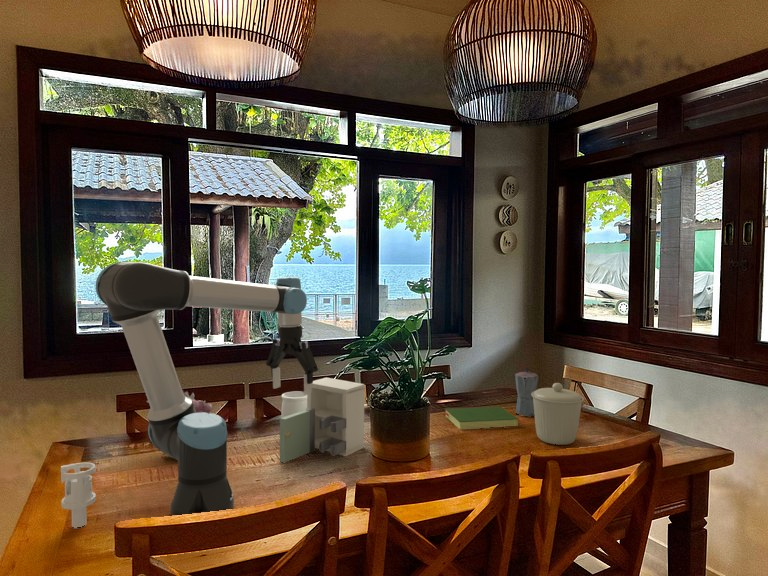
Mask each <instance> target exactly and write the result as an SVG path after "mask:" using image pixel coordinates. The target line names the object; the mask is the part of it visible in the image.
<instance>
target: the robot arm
mask: <svg viewBox="0 0 768 576" xmlns="http://www.w3.org/2000/svg"><path fill="white" fill-rule="evenodd" d="M301 284H302V283H301V279H300V278H299V277H298V276H280V277H277V279H276V283H275V284H264V283H257V282H255V283H254V282H246V281H238V280H237V281H236V280H230V279H221V278H220V279H219V278H214V277H213V278H212V277H204V276H196V275H195V276H194V275H189V273H188V272H187V271H185V270H179V269H178V270H177V269H173V268H169V267H165V266H164V267H163V266H160V265H156V264H152V263H148V262H141V261H137V262H134V261H127V260H125V261H119V262H115V263H112V264H109V265H107V266H105V267H104V268H103V269H102V270H101V271H100V273H99V274H98V276H97V278H96V280H95V292H96V294H97V296H98V298H99V300H100V301H101V303H103V304H104V305H105V306H106V307H107V309H108V313H109V315H110V317H111V320H112V322H113V323H115V324H117V325H119V326H121V329H122V332H123V334H124V337H125V339H126V342H127V345H128V348H129V350H130V354H131V355H132V356H131V357H132V359H133V362H134V365H135V367H136V370H137V372H138V376H139V379H140V381H141V385H142V387H143V389H144V392H145V396H146V398H147V401H149V403H148V404H149V407H150V408H151V410H149V411H148V413H147V415H146V416H147V417H146V418H147V420H148V423H149V424H148V428H147V434H148V438H149V439H150V440H149V441H151V443H152V445H153V446H154V447H155V448H156V449H158V450H159V451H160V452H162V453H166V454H165V455H168V456H169V457H170V456H171V457H170V458H172V457H173V458H172V459H174V460H177V470H178V471H177V477H178V478H177V480H178V482H177V485H176V488H175V492H174V494H173V498H172V501H171V504H170V515H182V514H192V513H201V512H210V511H219V510H226V509H232V510H233V509H234V506H235V505H234V504H235V502H234V501H235V500H234V499H235V498H234V493H233V490H232V488H231V485H230V482H229V480H228V476H227V473H228V470H227V464H228V463H227V462H228V461H227V460H228V459H227V458H228V457H227V456H228V448H227V446H228V442H227V441H228V430H227V423H226V420H225V419H224V418H223V417H221V416H220V415H218V414H216V413H212V412H211V413H210V414H208V413H196V411H195V408H194V407H195V406H194V405H193V402H192V400H191V399H190V398H188V397H187V396H186V397H185V396H184V394H183V393H184V390H183V389H182V385H181V383H180V380H179V378H178V377H179V376H178V374H177V370H176V369H175V365H174V362H173V359H172V356H171V354H170V350H169V347H168V345H167V341H166V339H165V336H164V332H163V330H162V326H161V323H160V321H159V318H158V313H159V312H160V310H161V311H163V310H164V311H165V310H173V311H174V310H176V311H181V310H184V309H185V308H186V307H193V308H206V309H207V308H208V309H222V310H223V309H224V310H234V311H237V310H239V311H247V312H265V313H266V312H267V313H277V325H279V326H278V328H277V330H278V332H277V334H278V337H277V338H273V339H272V342H271V343H272V344H271V349H270V351H269V355H268V357H267V361H266V366H268V367H269V368H270V369H271V378H272V389H278V388H279V389H280V388H281V367H280V364H281V363H282V360H283V359H284V358H285V356H286V355H292V356H294V357H295V358H296V359H297V361H298V363H299V364H300V366H301V367H302V369H303V370H304V372H305V373H303V392H304V394H305V395H306V394H309V393H312V383H313V381H314V373H315V372H318V371H319V368H318V366H317V364H316V363H317V362H316V360H315V358H314V355H313V353H312V350H311V348H310V345H311V344H310V342H309V341H302V337H303V326H302V325H301V324H302V323H303V322H302V321H303V320H302V319H303V317H302V315H303V314H302V313H303V312H304V310H305V309H306V306H307V301H308V298H307V295H306V293H305V291H304V290H303V289H302V285H301ZM182 390H183V391H182ZM233 505H234V506H233Z"/></svg>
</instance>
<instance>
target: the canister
mask: <svg viewBox="0 0 768 576" xmlns="http://www.w3.org/2000/svg"><path fill="white" fill-rule="evenodd" d="M531 395H532V397H533V403H534V415H535V416H534V424H535V425H534V426H535V432H536V434H537V438H539V440H540V441H542V442H544V443H547V444H551V445H555V444H556V445H557V446H560V445H561V446H566V445H570V444H572V443H574V442H575V441H576V439H577V435H578V429H579V423H580V417H581V409H582V403H583V402H584V400H585V398H584V397H583V396H582V395H581V394H580V393H578V392H576V391H574V390H571V389H566V388H564V387H563V384H562V383H560V382H554V383H553V384H552V387H541V388H538V389H536V391H534V392H532V393H531Z"/></svg>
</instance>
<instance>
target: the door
mask: <svg viewBox="0 0 768 576" xmlns="http://www.w3.org/2000/svg"><path fill="white" fill-rule="evenodd" d="M278 435H279V463H282V462H283V464H286V463H288V462H290V461H289V460H291V461H292V459H293V460H295V459H297V458H300V457H302V456H304V455H307V454H309V453H313V452H315V449H316V448H315V409H314V408H307V409H305V410H303V411H300V412H297V413H294V414H291V415H288V416H285V417H282V416H281V417H280V418H279V432H278ZM294 458H295V459H294ZM287 461H288V462H287ZM285 462H286V463H285Z"/></svg>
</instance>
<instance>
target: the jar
mask: <svg viewBox="0 0 768 576" xmlns="http://www.w3.org/2000/svg"><path fill="white" fill-rule="evenodd" d="M281 398H282V401H281V402H282V403H281V410H280V411H281V418H282V417H285V416H288V415H291V414H294V413H297V412H300V411H303V410H305V409H307V394H306V395H305V394H304V391H299V390H298V391H297V390H296V391H295V390H294V391H287V392H284V393H282V394H281Z"/></svg>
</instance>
